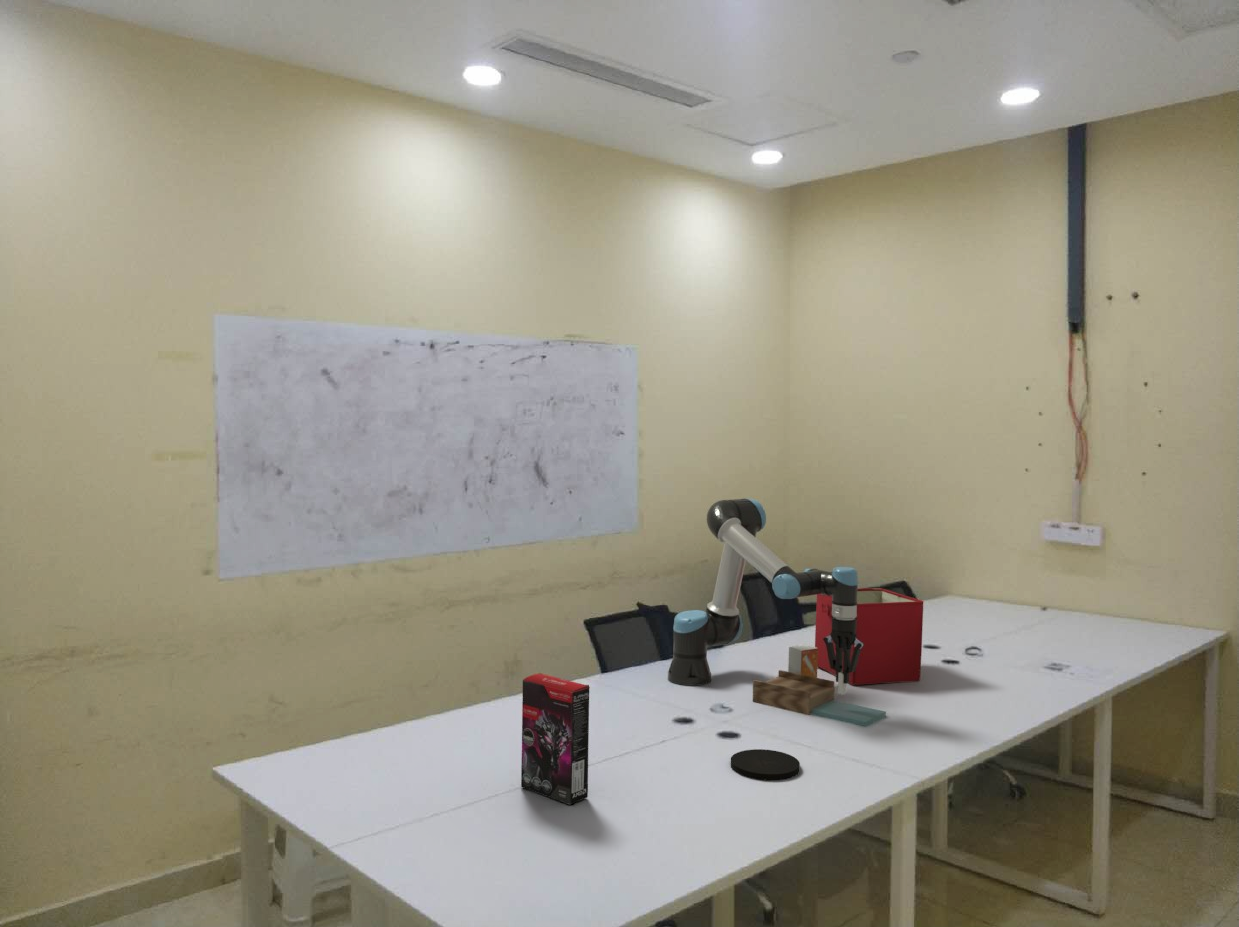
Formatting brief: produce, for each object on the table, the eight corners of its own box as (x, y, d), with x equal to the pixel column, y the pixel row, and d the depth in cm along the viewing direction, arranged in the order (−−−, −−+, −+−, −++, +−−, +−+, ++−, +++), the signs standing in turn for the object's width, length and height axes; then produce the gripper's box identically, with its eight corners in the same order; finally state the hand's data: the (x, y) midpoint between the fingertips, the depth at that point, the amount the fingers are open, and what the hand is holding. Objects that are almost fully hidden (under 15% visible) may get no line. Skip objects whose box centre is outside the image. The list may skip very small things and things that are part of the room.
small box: (800, 688, 317) (801, 650, 316) (787, 683, 322) (788, 646, 321) (817, 685, 321) (818, 647, 321) (804, 680, 326) (805, 643, 326)
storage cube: (881, 661, 355) (883, 586, 353) (927, 681, 329) (929, 599, 327) (806, 667, 345) (808, 589, 343) (847, 687, 318) (849, 603, 317)
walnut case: (752, 701, 301) (753, 680, 300) (779, 690, 314) (780, 669, 313) (808, 715, 288) (808, 692, 288) (833, 702, 301) (834, 681, 301)
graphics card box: (518, 787, 227) (519, 677, 226) (538, 779, 233) (539, 671, 231) (570, 807, 217) (572, 691, 215) (590, 798, 222) (592, 684, 221)
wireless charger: (753, 751, 256) (753, 744, 256) (811, 767, 245) (812, 760, 245) (717, 769, 242) (717, 762, 242) (777, 787, 231) (777, 779, 231)
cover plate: (811, 715, 289) (811, 709, 289) (832, 705, 300) (832, 699, 300) (865, 728, 277) (865, 722, 277) (885, 717, 288) (885, 711, 288)
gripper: (819, 616, 290) (817, 691, 291) (858, 622, 281) (856, 699, 283) (830, 612, 296) (828, 686, 297) (869, 618, 287) (867, 694, 288)
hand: (842, 692), depth 290 cm, fingers closed
